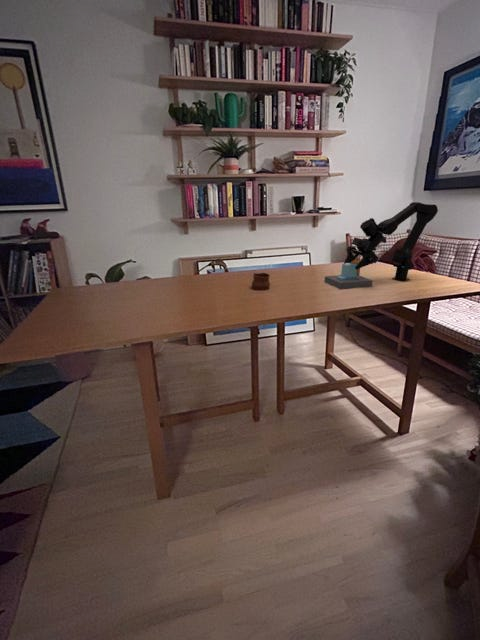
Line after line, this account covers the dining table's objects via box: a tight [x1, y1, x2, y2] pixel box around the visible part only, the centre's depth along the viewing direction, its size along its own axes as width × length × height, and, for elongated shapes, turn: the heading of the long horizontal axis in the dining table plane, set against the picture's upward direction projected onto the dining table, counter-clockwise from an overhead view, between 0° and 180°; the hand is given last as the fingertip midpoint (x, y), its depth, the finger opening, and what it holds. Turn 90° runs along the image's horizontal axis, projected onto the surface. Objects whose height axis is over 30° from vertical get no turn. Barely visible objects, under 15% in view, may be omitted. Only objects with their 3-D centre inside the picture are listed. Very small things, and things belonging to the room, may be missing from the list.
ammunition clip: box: [350, 255, 361, 276], centre depth 176 cm, size 11×2×12 cm, turn 22°
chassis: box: [323, 274, 374, 290], centre depth 159 cm, size 18×14×3 cm
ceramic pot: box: [251, 272, 273, 291], centre depth 151 cm, size 18×18×7 cm
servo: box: [336, 263, 361, 280], centre depth 157 cm, size 11×4×11 cm, turn 107°
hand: (349, 267), depth 156 cm, fingers open, 9 cm apart
